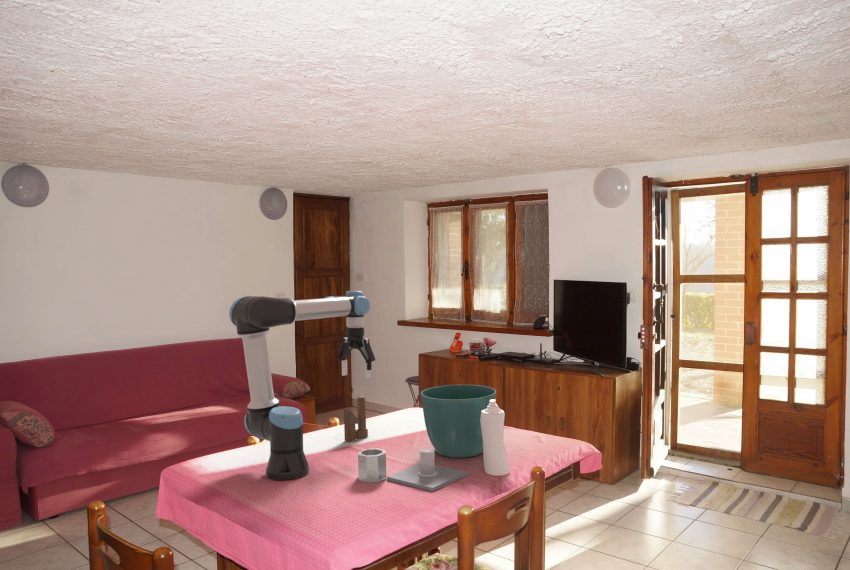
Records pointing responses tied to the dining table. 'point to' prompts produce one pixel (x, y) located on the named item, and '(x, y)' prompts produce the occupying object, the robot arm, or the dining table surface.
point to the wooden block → (355, 422)
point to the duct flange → (427, 474)
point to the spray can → (494, 440)
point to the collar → (372, 465)
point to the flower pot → (456, 418)
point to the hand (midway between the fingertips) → (356, 376)
